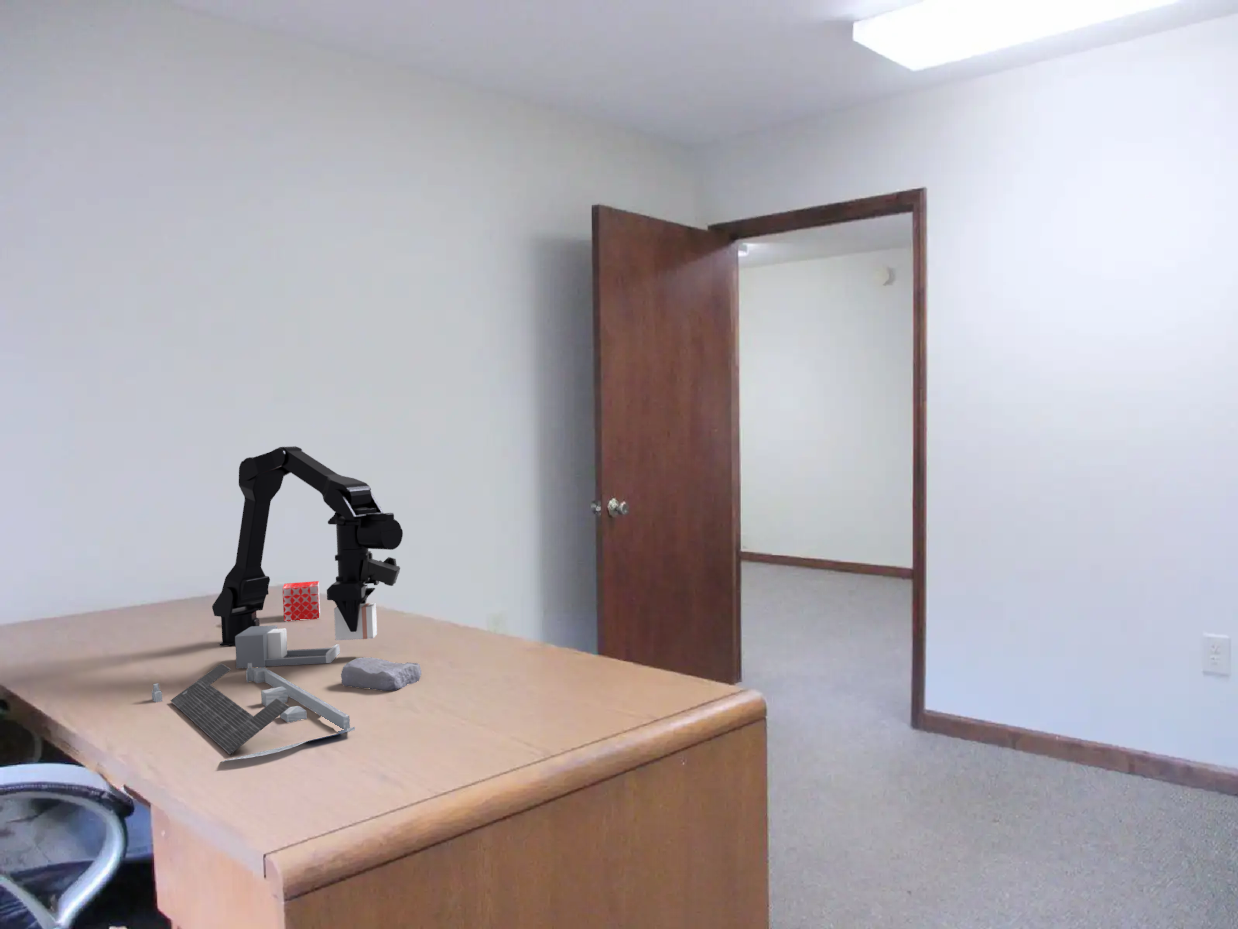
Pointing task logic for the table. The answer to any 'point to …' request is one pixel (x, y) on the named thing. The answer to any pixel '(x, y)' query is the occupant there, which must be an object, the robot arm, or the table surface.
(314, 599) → the red patterned cube
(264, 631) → the grey frame stand
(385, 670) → the stone block
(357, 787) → the table surface
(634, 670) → the table surface
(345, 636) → the white banded block
